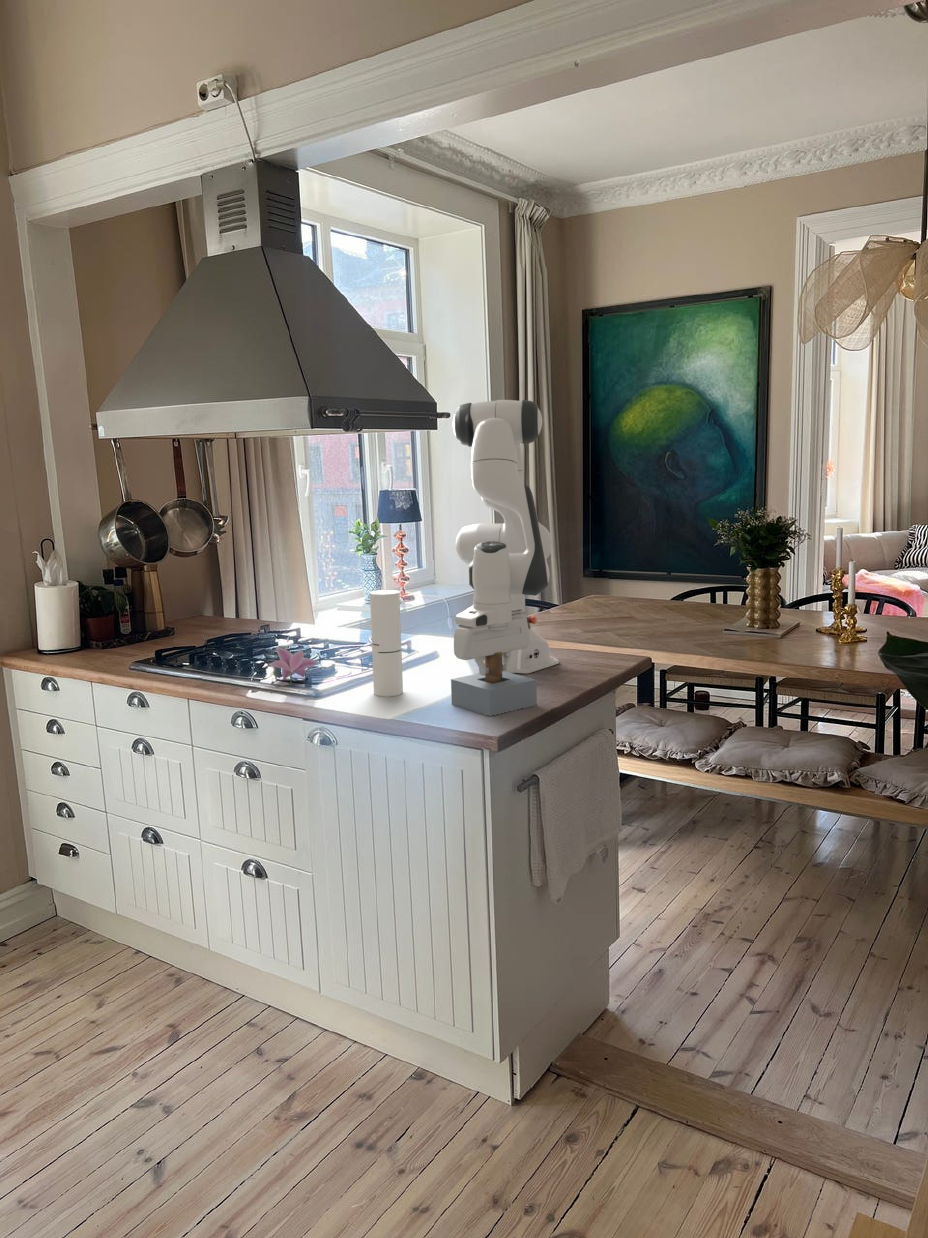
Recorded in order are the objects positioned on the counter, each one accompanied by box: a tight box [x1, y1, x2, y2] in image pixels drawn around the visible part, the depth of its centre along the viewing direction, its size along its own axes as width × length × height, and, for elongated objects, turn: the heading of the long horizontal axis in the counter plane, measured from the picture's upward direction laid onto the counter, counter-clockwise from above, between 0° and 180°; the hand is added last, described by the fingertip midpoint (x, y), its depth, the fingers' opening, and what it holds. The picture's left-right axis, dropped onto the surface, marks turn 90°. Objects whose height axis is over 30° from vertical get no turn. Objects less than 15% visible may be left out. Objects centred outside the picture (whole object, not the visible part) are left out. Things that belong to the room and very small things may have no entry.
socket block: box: [450, 671, 538, 717], centre depth 214 cm, size 14×14×6 cm
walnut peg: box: [485, 652, 502, 684], centre depth 214 cm, size 4×4×10 cm
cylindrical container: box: [369, 589, 404, 697], centre depth 226 cm, size 7×7×25 cm
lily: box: [268, 646, 321, 685], centre depth 240 cm, size 12×12×10 cm
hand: (493, 672), depth 214 cm, fingers open, 4 cm apart
